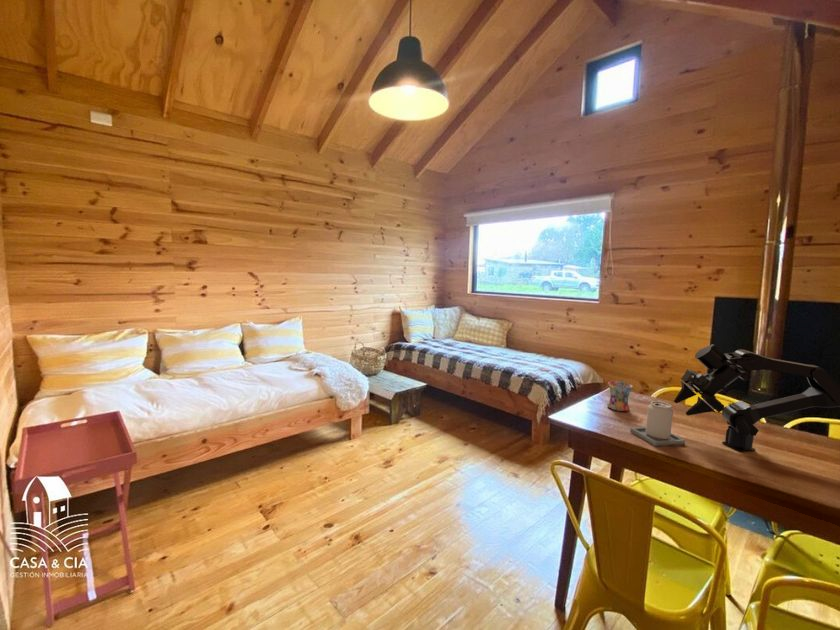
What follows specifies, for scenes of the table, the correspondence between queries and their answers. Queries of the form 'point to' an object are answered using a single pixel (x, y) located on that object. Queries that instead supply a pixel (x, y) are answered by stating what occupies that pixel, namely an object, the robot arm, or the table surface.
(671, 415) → the can
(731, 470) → the table surface
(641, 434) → the slate dish
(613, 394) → the mug
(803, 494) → the table surface
